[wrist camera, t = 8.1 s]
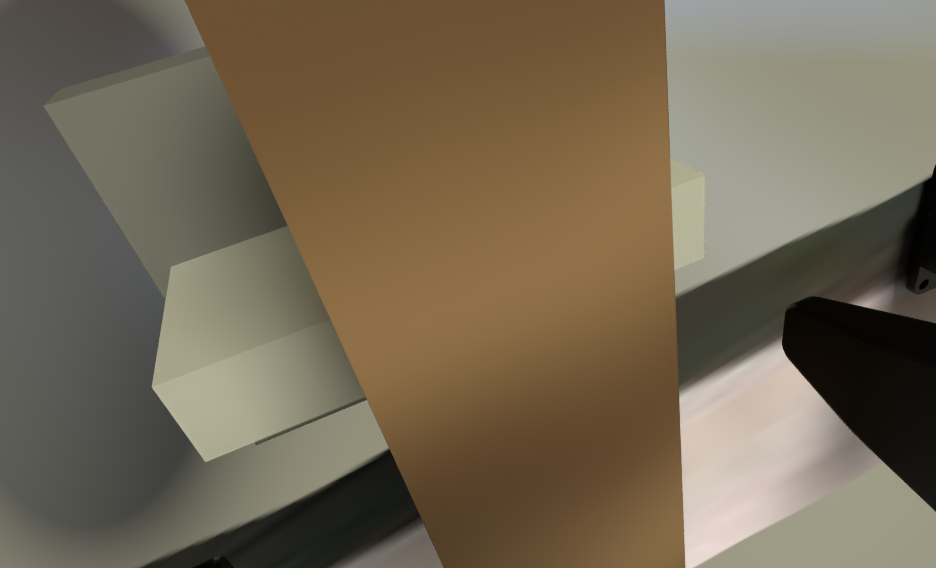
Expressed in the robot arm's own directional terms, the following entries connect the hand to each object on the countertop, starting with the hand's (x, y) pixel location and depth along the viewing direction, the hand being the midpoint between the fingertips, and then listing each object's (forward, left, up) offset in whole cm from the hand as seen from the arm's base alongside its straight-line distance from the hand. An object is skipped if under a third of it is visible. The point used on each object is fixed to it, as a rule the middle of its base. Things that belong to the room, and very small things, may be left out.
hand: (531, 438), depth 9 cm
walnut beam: (0, 0, -4) cm, 4 cm away
